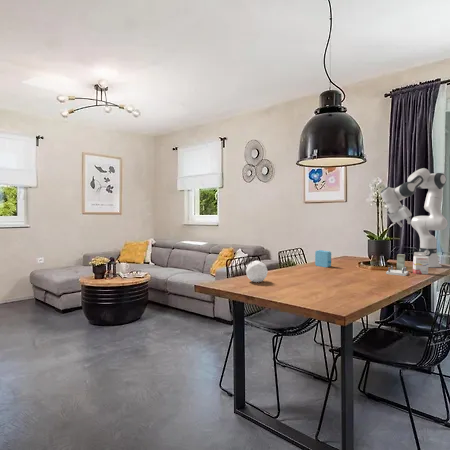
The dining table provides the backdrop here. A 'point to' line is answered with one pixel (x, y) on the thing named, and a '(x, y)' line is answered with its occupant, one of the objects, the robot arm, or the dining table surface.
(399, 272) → the mounting plate
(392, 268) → the standoff pins
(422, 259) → the ink cartridge box
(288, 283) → the dining table surface
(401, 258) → the sage spacer block
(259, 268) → the geodesic sphere
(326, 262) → the data package
